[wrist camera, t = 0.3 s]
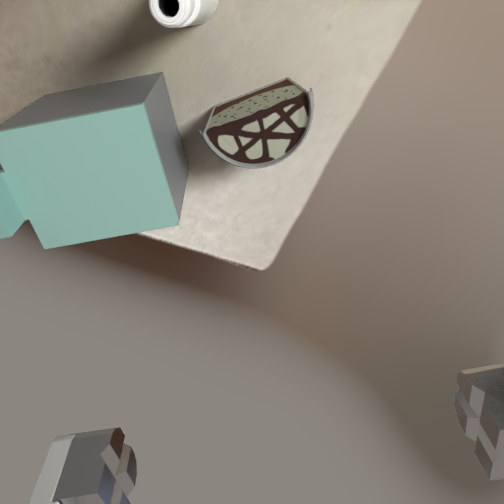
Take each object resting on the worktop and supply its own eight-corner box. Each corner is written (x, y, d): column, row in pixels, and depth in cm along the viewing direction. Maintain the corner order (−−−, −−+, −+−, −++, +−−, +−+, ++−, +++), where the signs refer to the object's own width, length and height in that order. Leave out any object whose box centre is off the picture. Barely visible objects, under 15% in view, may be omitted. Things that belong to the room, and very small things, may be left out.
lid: (-43, 138, 39) (-68, 153, 35) (143, 102, 38) (136, 114, 35) (19, 250, 45) (2, 272, 42) (179, 221, 44) (175, 241, 41)
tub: (44, 95, 50) (-11, 132, 39) (162, 72, 50) (143, 102, 38) (83, 189, 57) (47, 245, 45) (188, 169, 56) (179, 221, 44)
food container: (221, 156, 56) (220, 189, 47) (201, 110, 52) (197, 136, 44) (313, 122, 54) (330, 149, 46) (299, 72, 51) (315, 91, 42)
